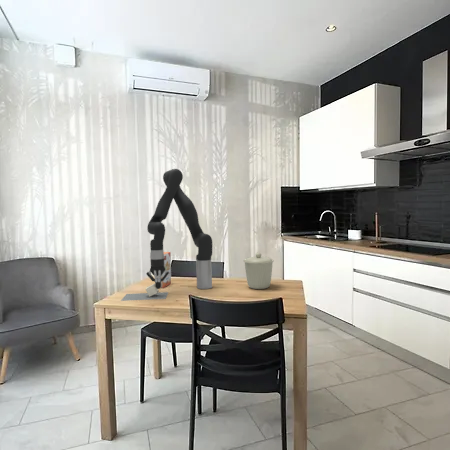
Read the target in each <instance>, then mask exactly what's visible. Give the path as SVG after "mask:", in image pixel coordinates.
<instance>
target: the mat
mask: <svg viewBox="0 0 450 450" xmlns="http://www.w3.org/2000/svg"><path fill="white" fill-rule="evenodd" d="M168 295H169V291H168V292H167V291H164V292H163V291H162V292H160V291H159V292H158V294H156V295H153V296H151V297H149V295H148V293H147V292H144V293H142V292H137V293H126V294H125V295H124V296H123V297H122V299H121V300H120V301H121V302H123V301H125V302H126V301H127V302H128V301H144V300H145V301H146V300H148V301H149V300H151V301H152V300H166V299H167V297H168Z"/></svg>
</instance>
